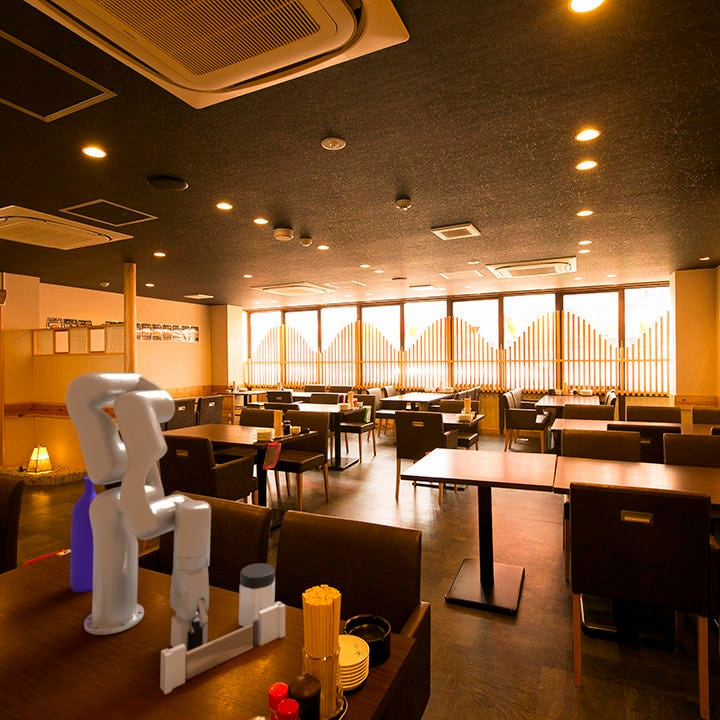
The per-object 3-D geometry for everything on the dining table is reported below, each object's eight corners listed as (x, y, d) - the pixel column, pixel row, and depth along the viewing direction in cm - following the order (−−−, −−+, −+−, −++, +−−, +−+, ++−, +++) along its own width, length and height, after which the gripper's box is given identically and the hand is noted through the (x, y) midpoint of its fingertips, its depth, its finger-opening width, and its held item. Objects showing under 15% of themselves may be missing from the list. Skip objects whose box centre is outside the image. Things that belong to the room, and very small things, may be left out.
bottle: (84, 577, 132) (87, 473, 132) (111, 580, 130) (113, 474, 131) (62, 591, 123) (64, 480, 124) (90, 594, 122) (92, 481, 123)
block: (170, 644, 100) (171, 617, 100) (197, 633, 104) (197, 607, 105) (180, 655, 97) (181, 627, 97) (207, 643, 101) (208, 616, 101)
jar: (244, 634, 105) (245, 581, 105) (233, 617, 112) (234, 568, 112) (281, 622, 110) (281, 572, 110) (268, 607, 117) (268, 560, 117)
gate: (184, 676, 90) (185, 650, 90) (256, 642, 101) (256, 619, 101) (187, 679, 89) (188, 652, 89) (259, 645, 100) (259, 621, 100)
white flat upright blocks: (160, 687, 87) (161, 650, 87) (278, 631, 106) (279, 601, 106) (165, 694, 85) (166, 656, 85) (284, 636, 104) (285, 605, 104)
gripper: (159, 551, 104) (156, 631, 104) (192, 578, 92) (189, 668, 92) (191, 543, 109) (188, 619, 109) (226, 567, 97) (223, 653, 97)
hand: (189, 641), depth 101 cm, fingers closed on block, 5 cm apart
